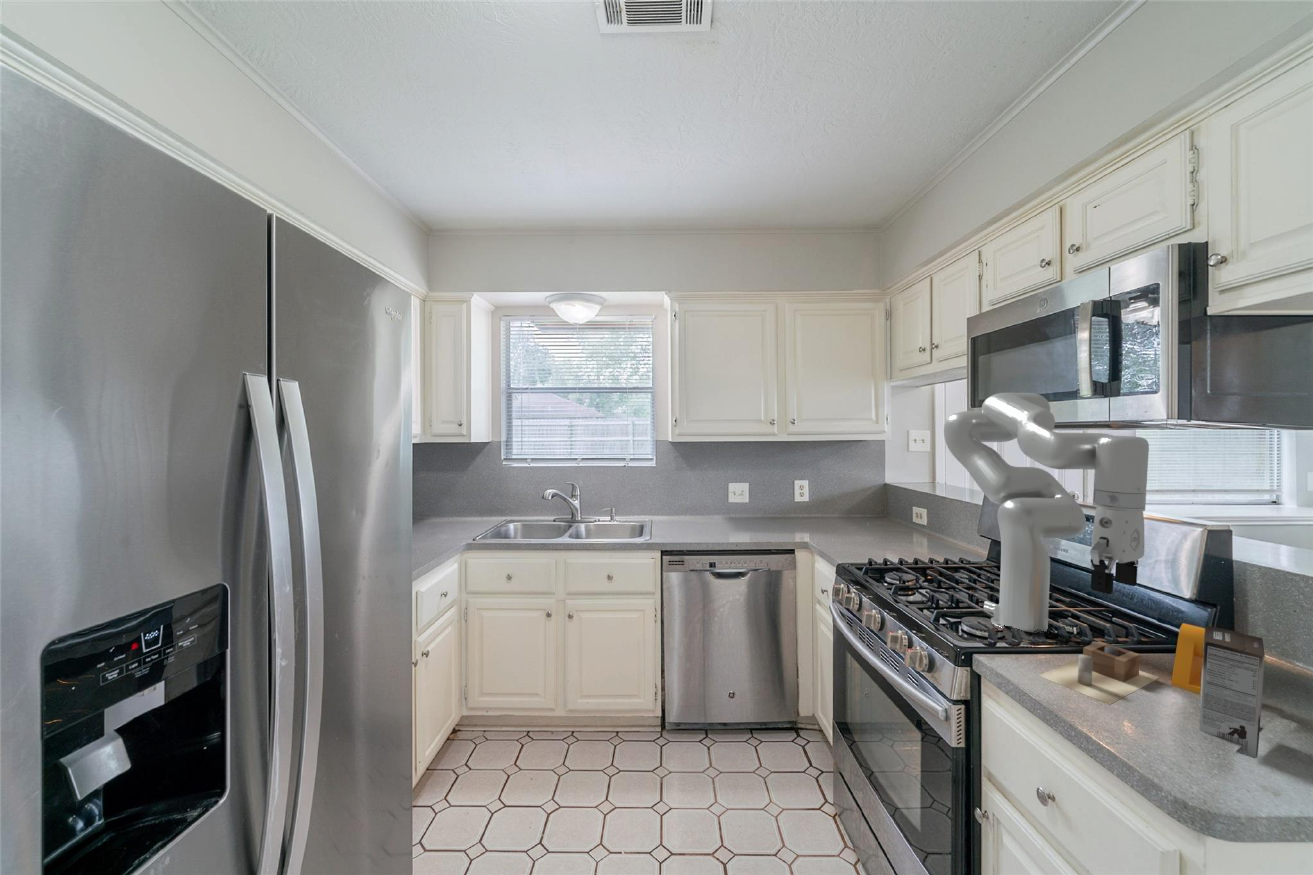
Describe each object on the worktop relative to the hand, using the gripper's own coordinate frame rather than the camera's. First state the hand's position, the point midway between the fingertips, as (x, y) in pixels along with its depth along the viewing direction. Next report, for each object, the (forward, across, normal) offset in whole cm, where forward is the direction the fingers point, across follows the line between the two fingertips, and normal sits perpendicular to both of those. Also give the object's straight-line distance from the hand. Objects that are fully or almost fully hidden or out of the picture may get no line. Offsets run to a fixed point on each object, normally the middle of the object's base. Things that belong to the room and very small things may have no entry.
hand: (1113, 587), depth 100 cm
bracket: (+18, +9, -11) cm, 23 cm away
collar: (+16, 0, 0) cm, 16 cm away
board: (+18, -5, 0) cm, 18 cm away
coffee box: (+18, -6, -18) cm, 26 cm away
